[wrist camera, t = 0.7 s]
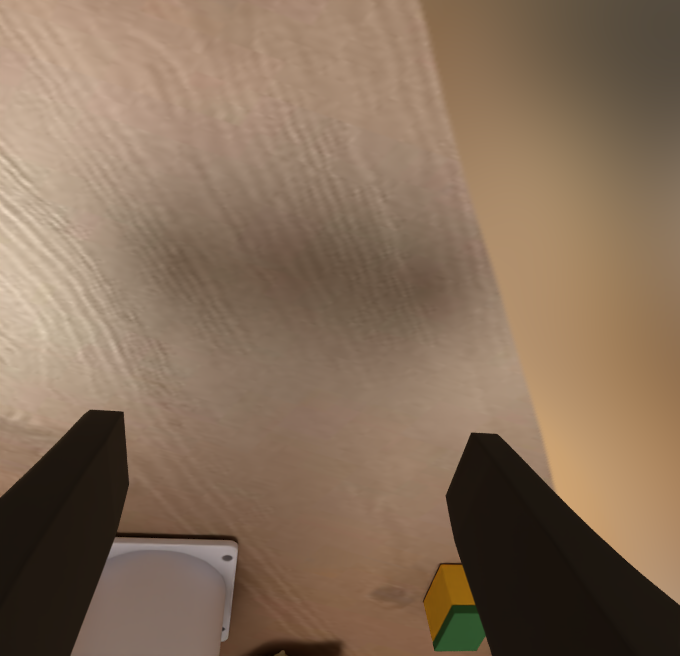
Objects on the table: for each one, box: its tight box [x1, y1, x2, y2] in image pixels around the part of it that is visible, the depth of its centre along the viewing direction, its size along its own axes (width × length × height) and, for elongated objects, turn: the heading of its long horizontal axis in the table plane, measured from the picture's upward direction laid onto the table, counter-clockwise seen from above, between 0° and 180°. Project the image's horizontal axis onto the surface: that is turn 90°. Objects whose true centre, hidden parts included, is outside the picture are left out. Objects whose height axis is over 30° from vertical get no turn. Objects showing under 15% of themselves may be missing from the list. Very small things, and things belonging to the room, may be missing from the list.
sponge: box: [424, 564, 486, 651], centre depth 29 cm, size 4×3×3 cm, turn 170°
